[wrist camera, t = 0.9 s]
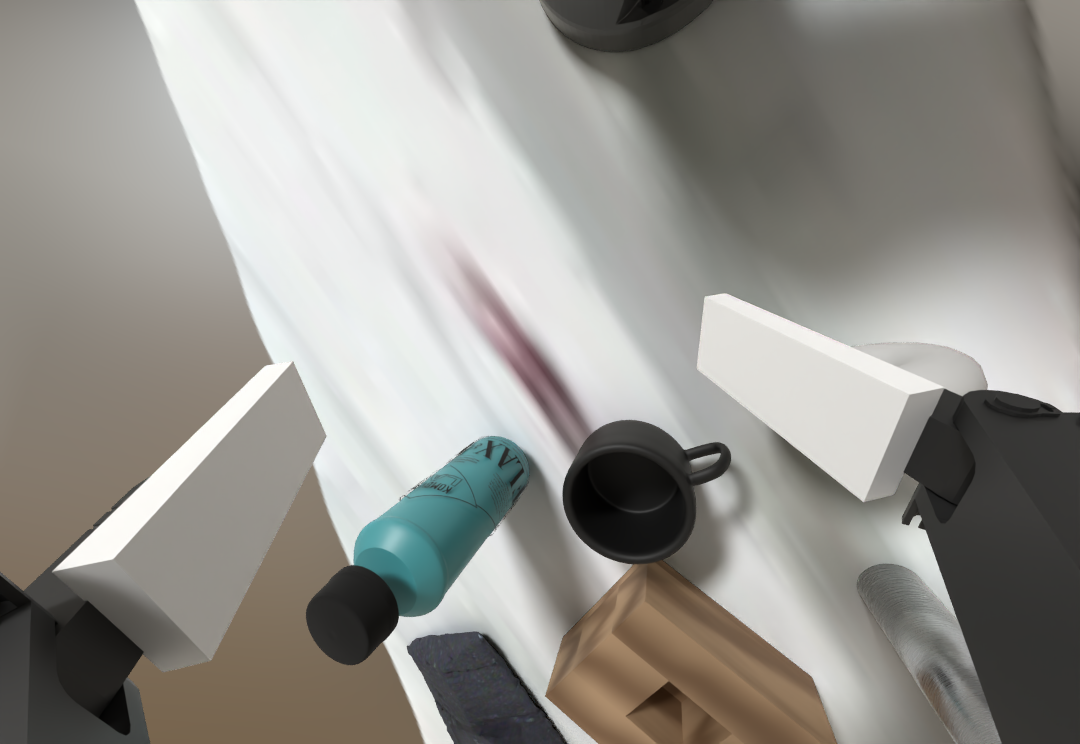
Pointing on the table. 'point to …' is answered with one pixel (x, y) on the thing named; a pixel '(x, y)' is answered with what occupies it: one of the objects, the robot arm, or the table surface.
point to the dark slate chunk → (479, 692)
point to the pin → (930, 650)
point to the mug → (636, 491)
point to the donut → (932, 364)
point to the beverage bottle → (417, 549)
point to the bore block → (679, 671)
